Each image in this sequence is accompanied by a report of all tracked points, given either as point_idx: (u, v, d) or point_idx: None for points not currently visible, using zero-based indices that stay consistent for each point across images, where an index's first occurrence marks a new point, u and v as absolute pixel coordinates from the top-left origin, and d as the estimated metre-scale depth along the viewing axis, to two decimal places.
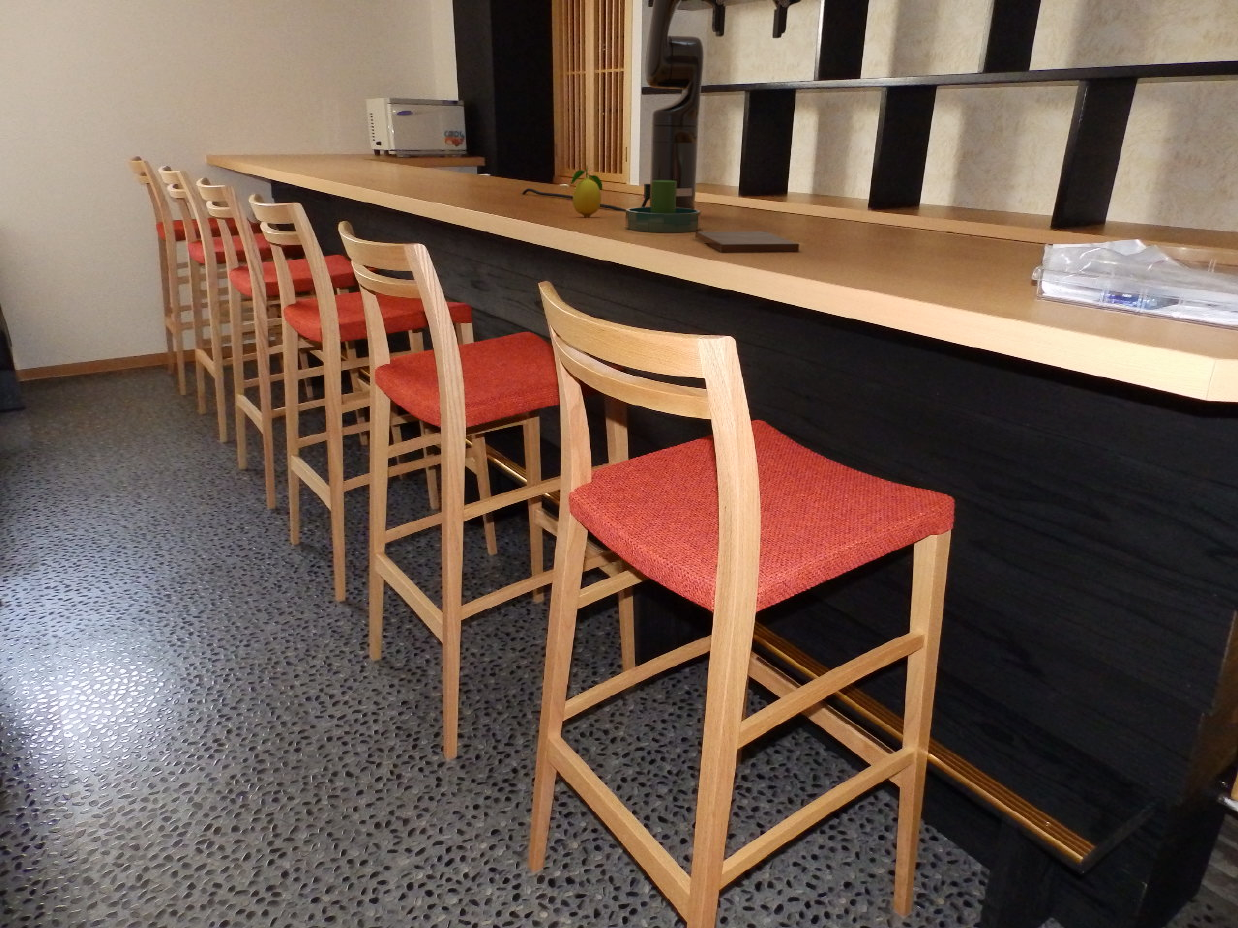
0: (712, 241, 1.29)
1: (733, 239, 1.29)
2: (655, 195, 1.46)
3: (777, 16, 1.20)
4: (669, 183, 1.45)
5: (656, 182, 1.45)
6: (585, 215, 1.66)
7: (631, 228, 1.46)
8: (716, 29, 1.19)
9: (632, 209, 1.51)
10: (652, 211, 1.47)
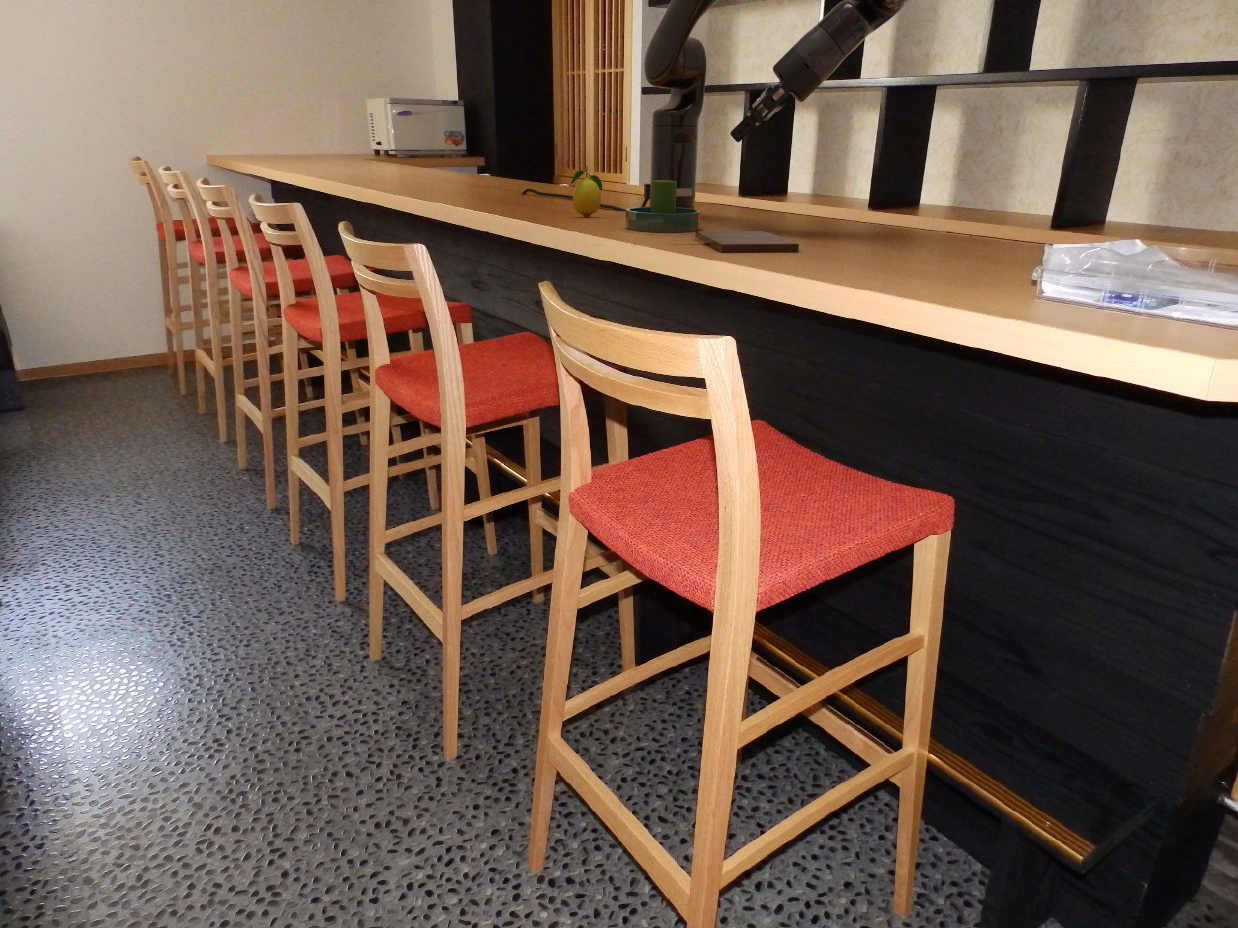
0: (712, 241, 1.29)
1: (733, 239, 1.29)
2: (655, 195, 1.46)
3: None
4: (669, 183, 1.45)
5: (656, 182, 1.45)
6: (585, 215, 1.66)
7: (631, 228, 1.46)
8: (740, 138, 1.38)
9: (632, 209, 1.51)
10: (652, 211, 1.47)
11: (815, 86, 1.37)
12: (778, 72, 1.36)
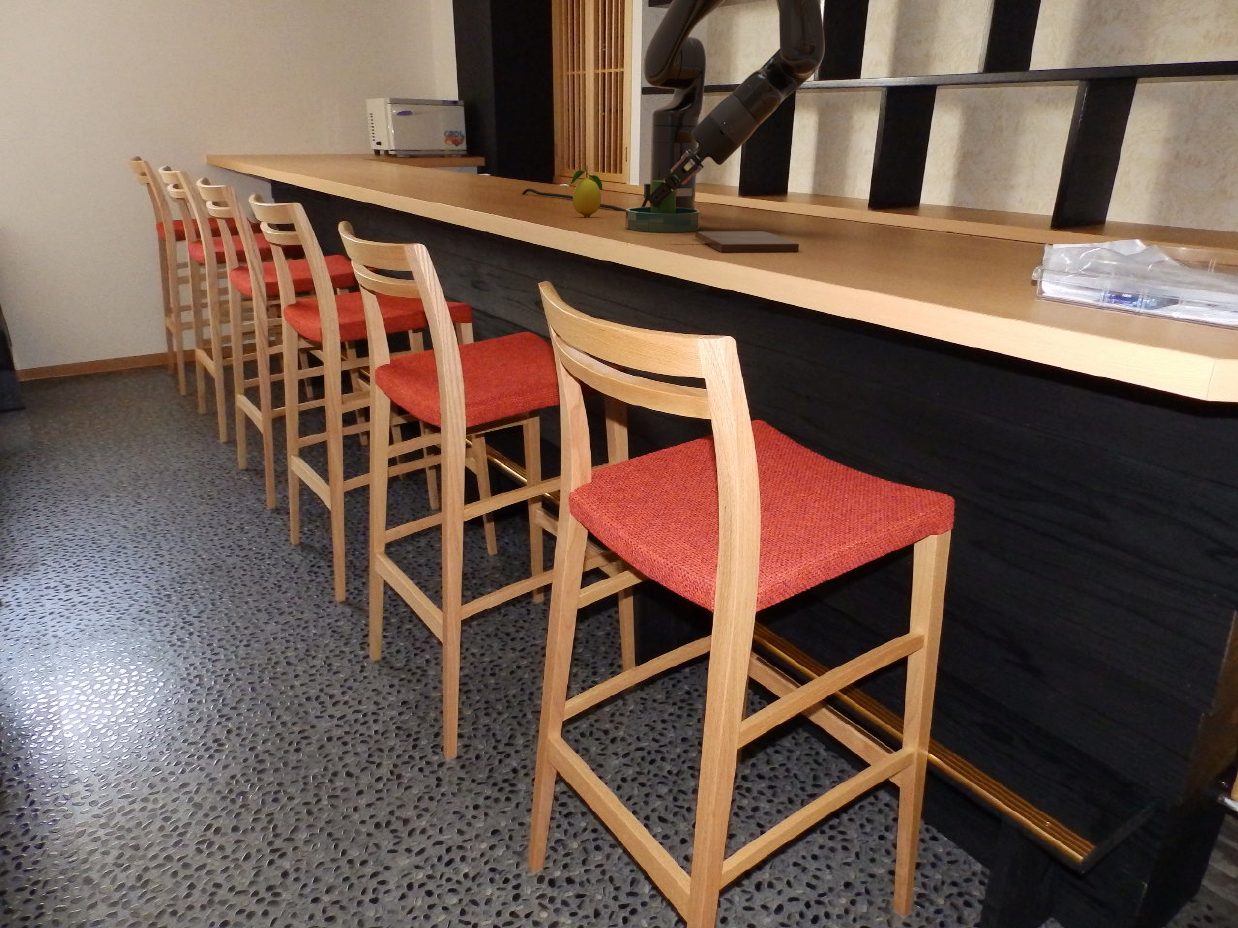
0: (712, 241, 1.29)
1: (733, 239, 1.29)
2: None
3: None
4: None
5: (656, 182, 1.45)
6: (585, 215, 1.66)
7: (631, 228, 1.46)
8: (656, 203, 1.45)
9: (632, 209, 1.51)
10: (652, 211, 1.47)
11: (731, 151, 1.42)
12: (695, 138, 1.41)
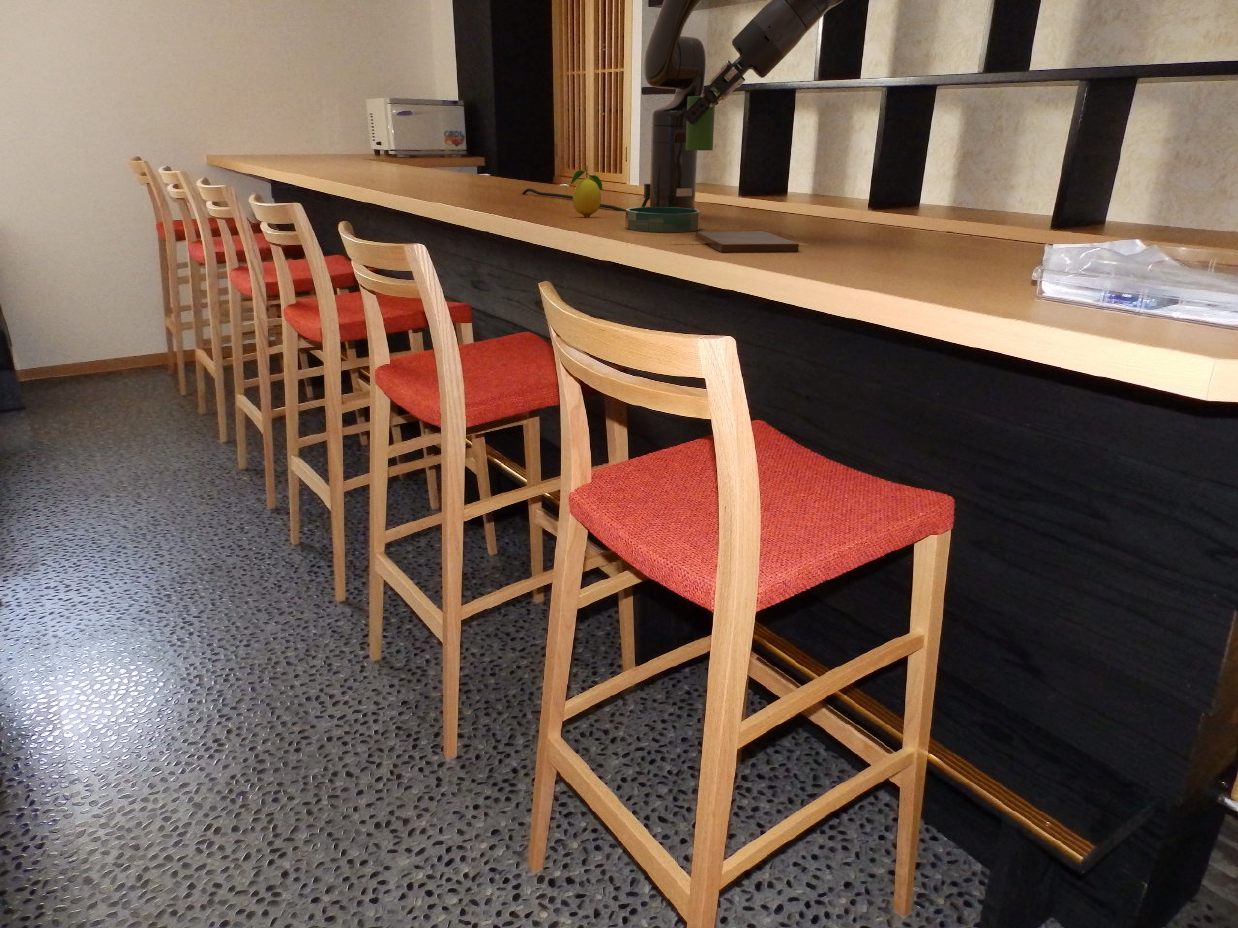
0: (712, 241, 1.29)
1: (733, 239, 1.29)
2: None
3: None
4: None
5: (693, 97, 1.33)
6: (585, 215, 1.66)
7: (631, 228, 1.46)
8: (694, 120, 1.33)
9: (632, 209, 1.51)
10: (688, 130, 1.35)
11: (776, 60, 1.30)
12: (737, 46, 1.29)
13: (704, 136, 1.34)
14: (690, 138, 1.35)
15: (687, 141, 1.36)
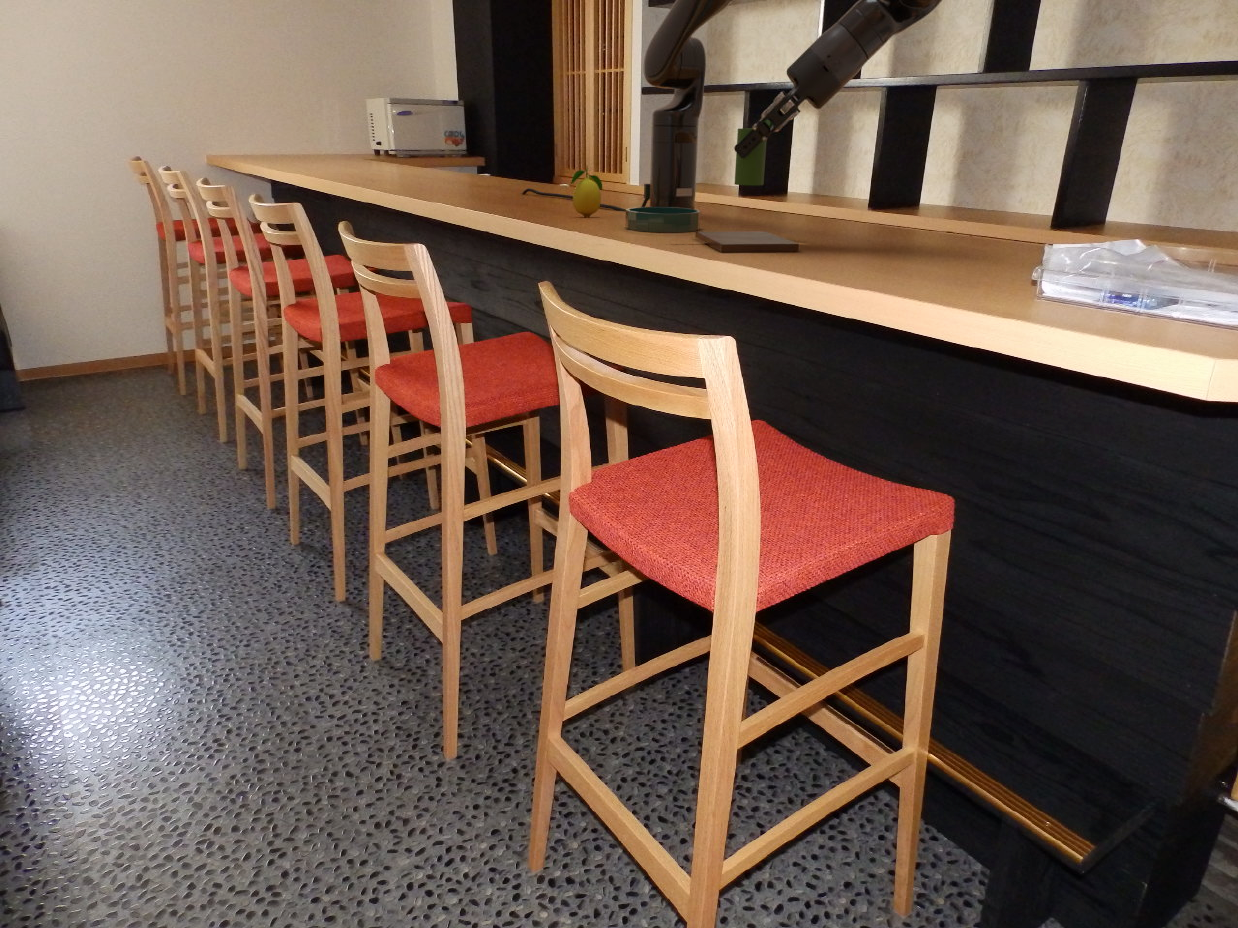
0: (712, 241, 1.29)
1: (733, 239, 1.29)
2: None
3: None
4: None
5: (744, 129, 1.25)
6: (585, 215, 1.66)
7: (631, 228, 1.46)
8: (745, 154, 1.25)
9: (632, 209, 1.51)
10: (738, 164, 1.27)
11: (834, 91, 1.22)
12: (793, 76, 1.21)
13: (755, 170, 1.26)
14: (741, 172, 1.27)
15: (736, 175, 1.28)
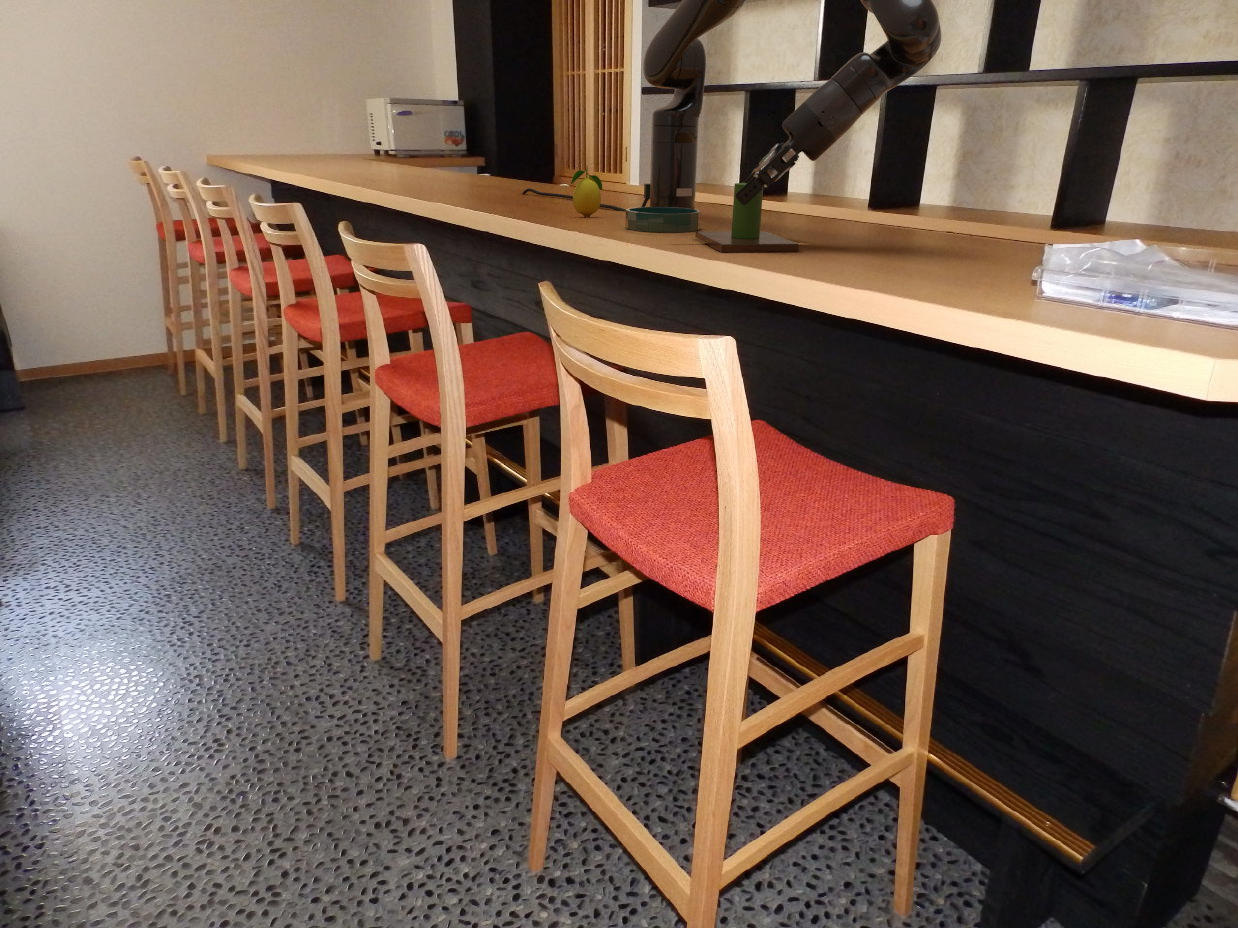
0: (712, 241, 1.29)
1: (733, 239, 1.29)
2: None
3: None
4: None
5: (741, 185, 1.28)
6: (585, 215, 1.66)
7: (631, 228, 1.46)
8: (746, 201, 1.25)
9: (632, 209, 1.51)
10: (735, 218, 1.30)
11: (829, 145, 1.24)
12: (788, 130, 1.23)
13: (752, 224, 1.29)
14: (737, 226, 1.30)
15: (733, 229, 1.31)
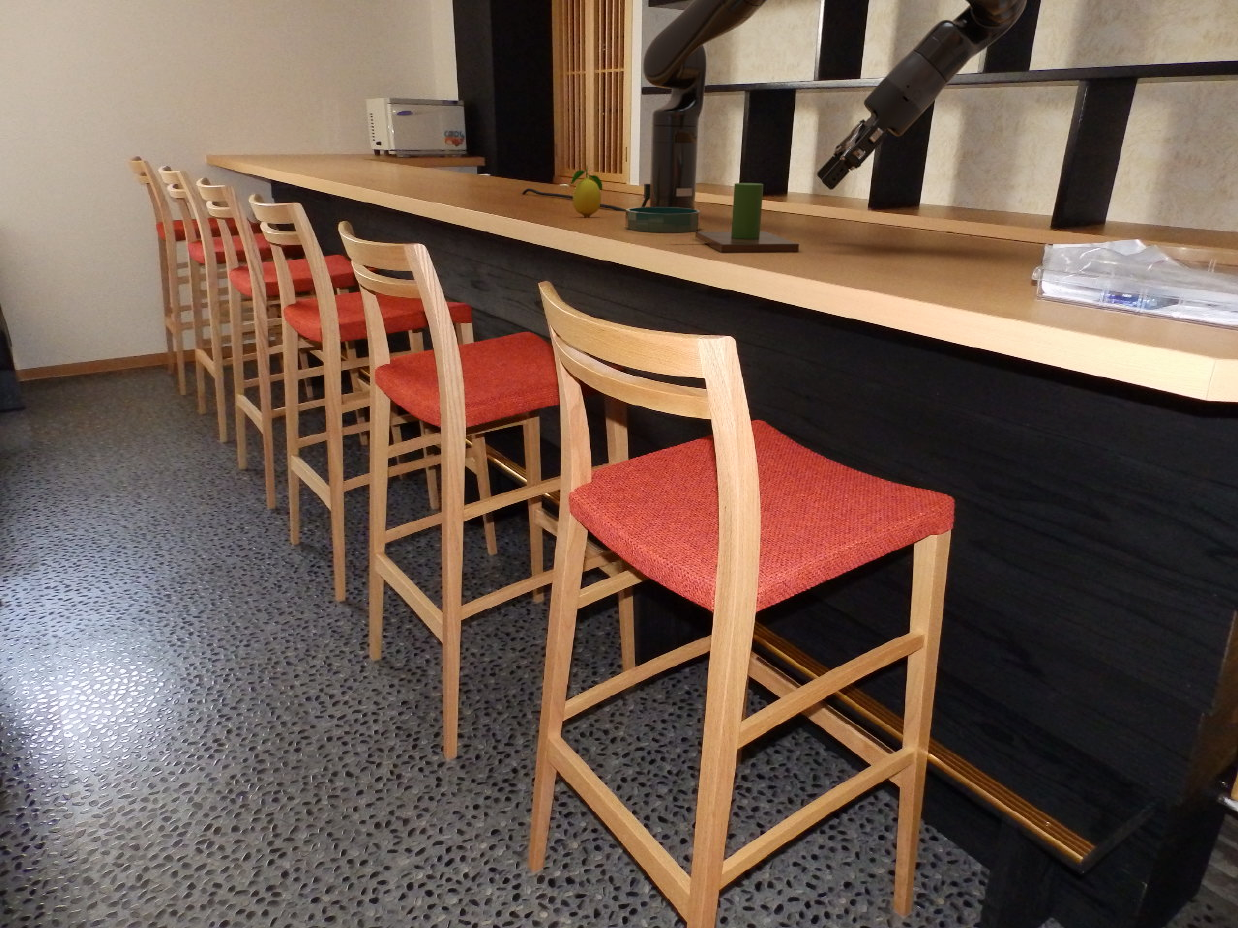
0: (712, 241, 1.29)
1: (733, 239, 1.29)
2: (739, 200, 1.29)
3: None
4: (756, 186, 1.27)
5: (741, 185, 1.28)
6: (585, 215, 1.66)
7: (631, 228, 1.46)
8: (833, 185, 1.24)
9: (632, 209, 1.51)
10: (735, 218, 1.30)
11: (914, 119, 1.22)
12: (872, 108, 1.21)
13: (752, 224, 1.29)
14: (737, 226, 1.30)
15: (733, 229, 1.31)
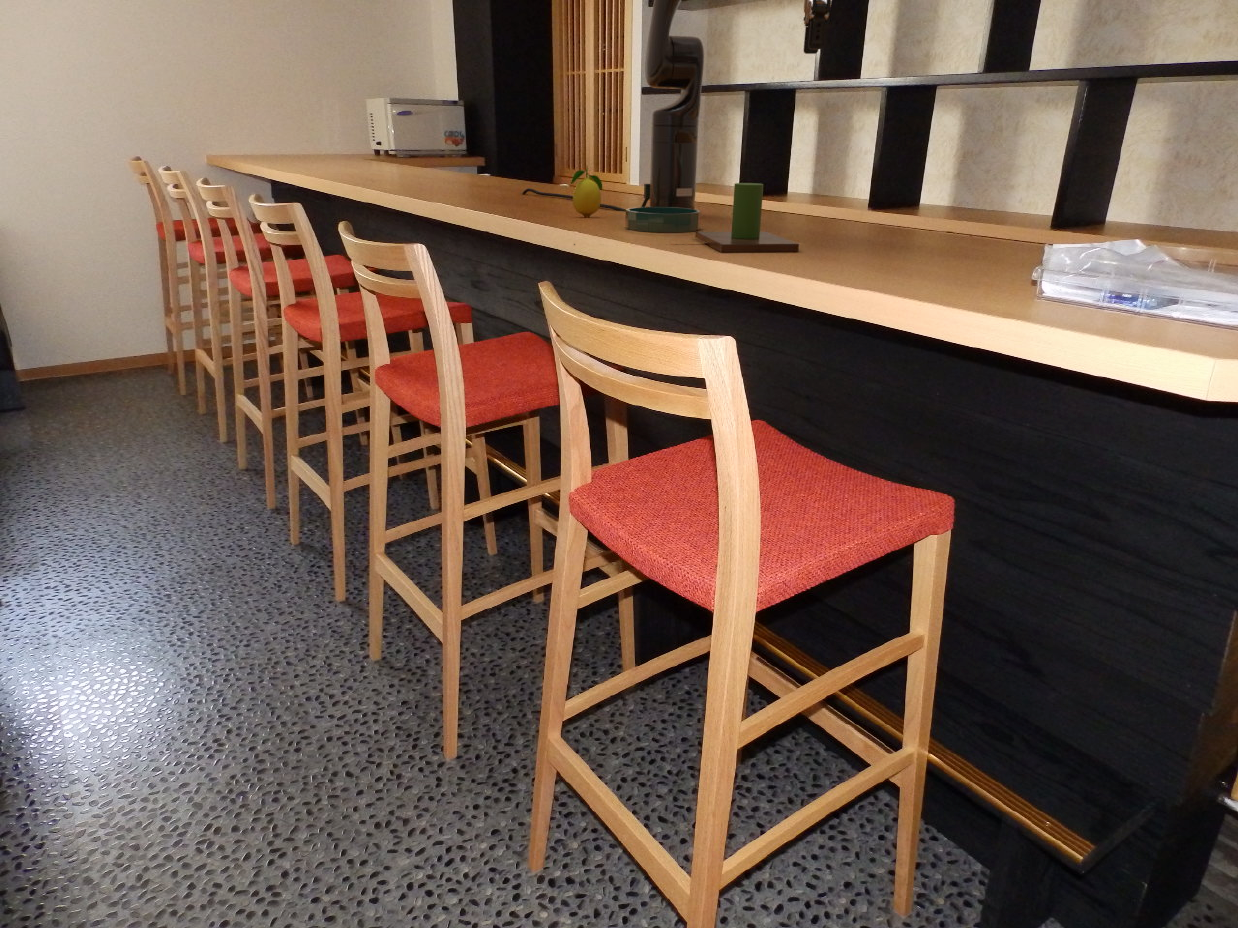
0: (712, 241, 1.29)
1: (733, 239, 1.29)
2: (739, 200, 1.29)
3: None
4: (756, 186, 1.27)
5: (741, 185, 1.28)
6: (585, 215, 1.66)
7: (631, 228, 1.46)
8: (821, 42, 1.22)
9: (632, 209, 1.51)
10: (735, 218, 1.30)
11: None
12: None
13: (752, 224, 1.29)
14: (737, 226, 1.30)
15: (733, 229, 1.31)
